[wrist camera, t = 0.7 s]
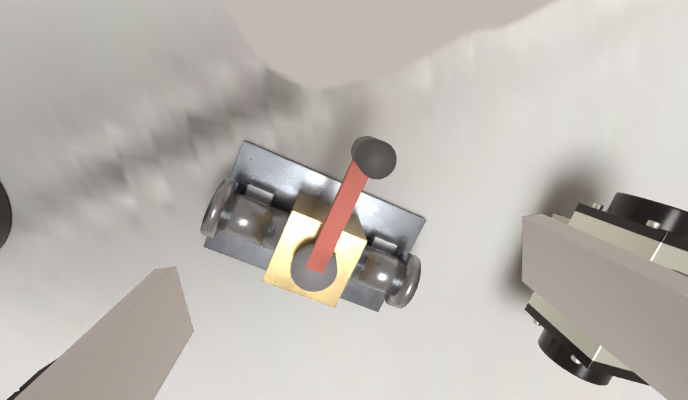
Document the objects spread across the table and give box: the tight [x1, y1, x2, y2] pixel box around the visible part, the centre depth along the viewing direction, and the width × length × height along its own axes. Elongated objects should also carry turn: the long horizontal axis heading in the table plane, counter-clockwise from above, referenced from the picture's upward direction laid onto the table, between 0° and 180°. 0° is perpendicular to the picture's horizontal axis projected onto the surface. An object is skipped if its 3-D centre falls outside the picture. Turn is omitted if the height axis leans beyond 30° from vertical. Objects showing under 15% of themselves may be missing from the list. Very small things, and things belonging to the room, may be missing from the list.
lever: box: [290, 136, 396, 292], centre depth 28 cm, size 16×4×6 cm, turn 155°
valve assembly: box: [201, 141, 426, 312], centre depth 37 cm, size 24×14×10 cm, turn 65°
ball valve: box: [525, 192, 688, 386], centre depth 35 cm, size 18×8×18 cm, turn 161°
